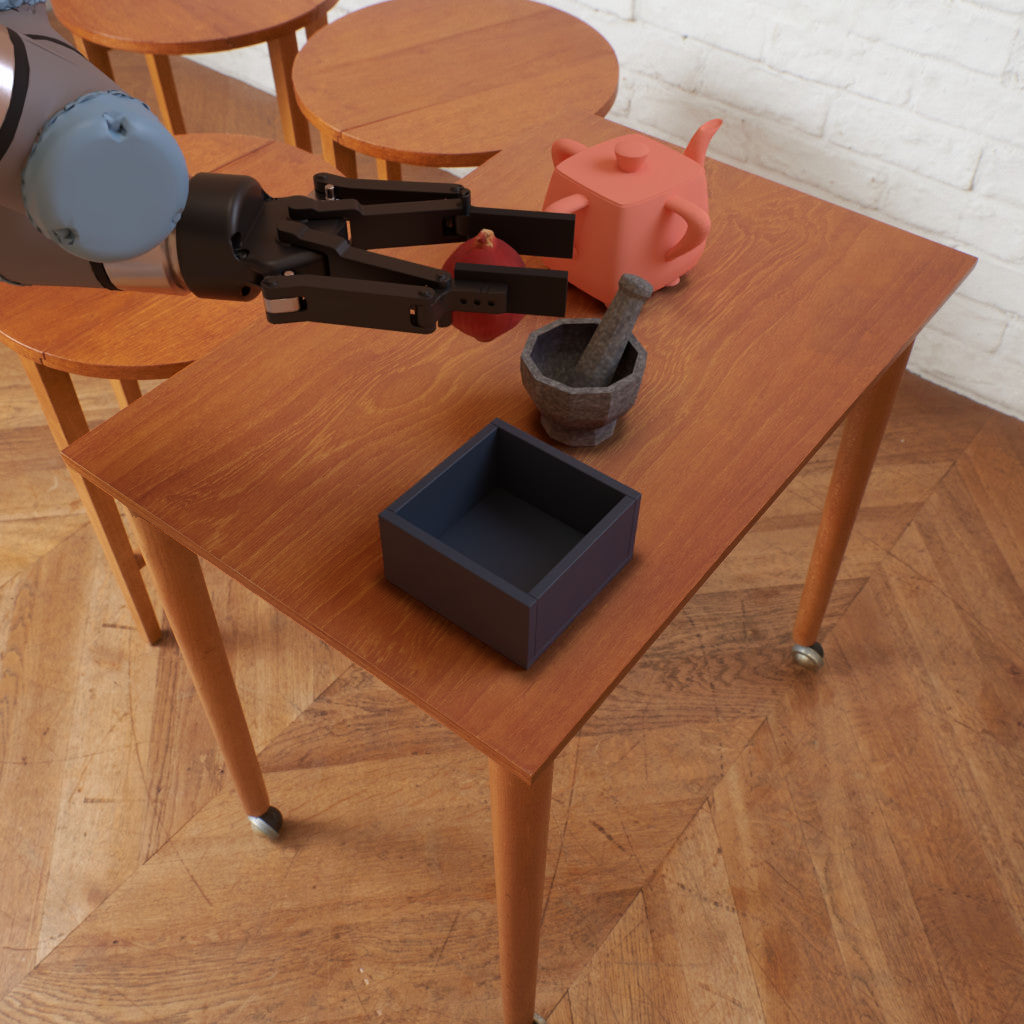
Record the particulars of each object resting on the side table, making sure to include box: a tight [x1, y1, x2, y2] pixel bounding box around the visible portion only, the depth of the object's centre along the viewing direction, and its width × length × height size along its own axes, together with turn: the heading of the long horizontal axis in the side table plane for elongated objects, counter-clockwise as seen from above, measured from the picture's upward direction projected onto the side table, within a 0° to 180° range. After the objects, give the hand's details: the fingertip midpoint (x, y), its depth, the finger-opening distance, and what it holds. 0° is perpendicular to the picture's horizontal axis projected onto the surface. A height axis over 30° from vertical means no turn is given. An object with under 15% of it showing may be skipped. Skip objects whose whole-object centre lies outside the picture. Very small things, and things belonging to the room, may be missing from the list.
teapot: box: [540, 118, 724, 309], centre depth 96 cm, size 17×16×13 cm
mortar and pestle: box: [519, 273, 653, 448], centre depth 82 cm, size 11×9×12 cm
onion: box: [440, 229, 528, 343], centre depth 65 cm, size 6×6×8 cm
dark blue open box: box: [377, 416, 643, 671], centre depth 72 cm, size 13×13×7 cm
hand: (569, 264), depth 63 cm, fingers closed on onion, 6 cm apart
